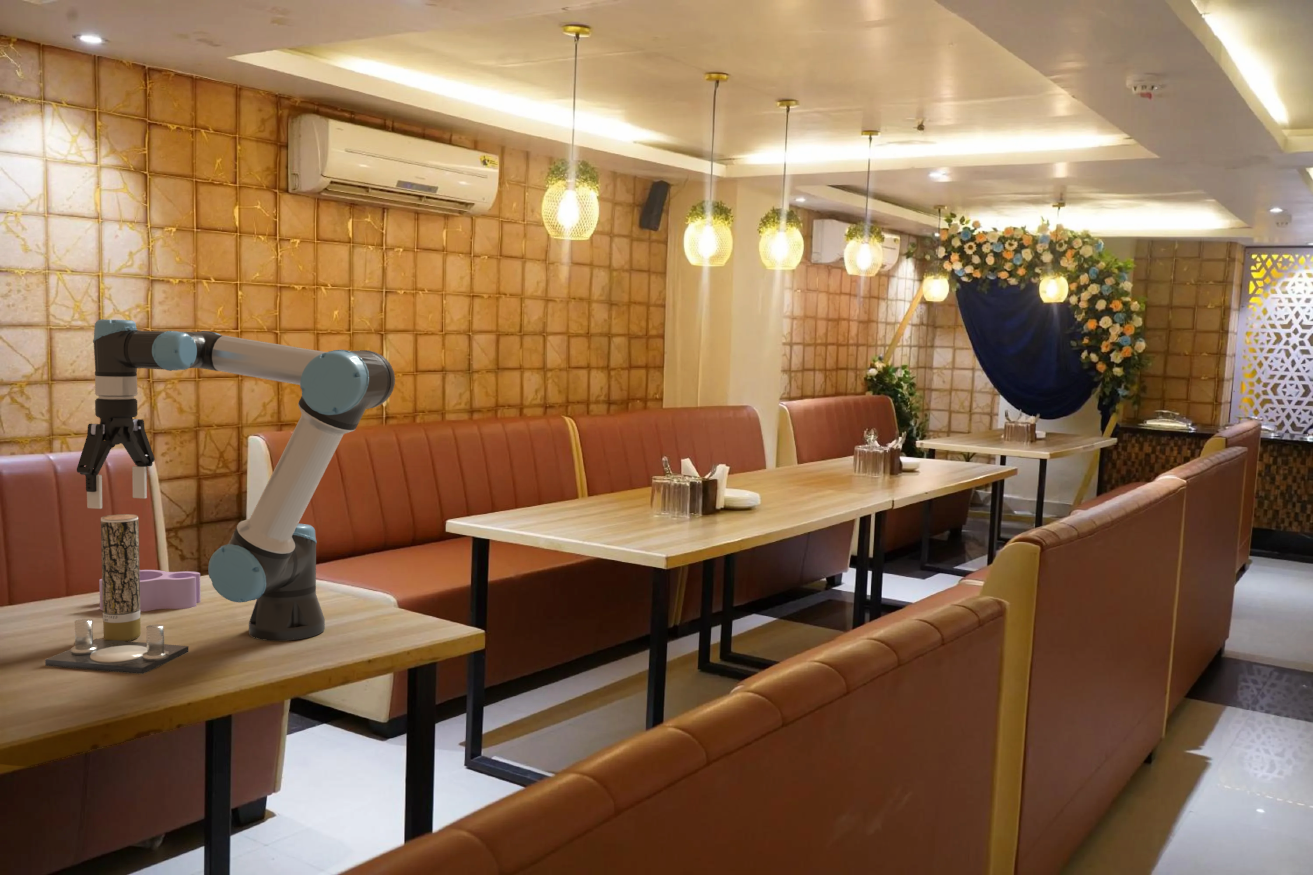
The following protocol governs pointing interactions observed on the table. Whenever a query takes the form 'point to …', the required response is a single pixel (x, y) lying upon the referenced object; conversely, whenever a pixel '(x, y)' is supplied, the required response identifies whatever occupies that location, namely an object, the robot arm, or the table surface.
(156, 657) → the collar post
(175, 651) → the plate
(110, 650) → the white dome cap
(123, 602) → the paper tube
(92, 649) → the collar post
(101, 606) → the clip
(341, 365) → the robot arm
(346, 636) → the table surface
